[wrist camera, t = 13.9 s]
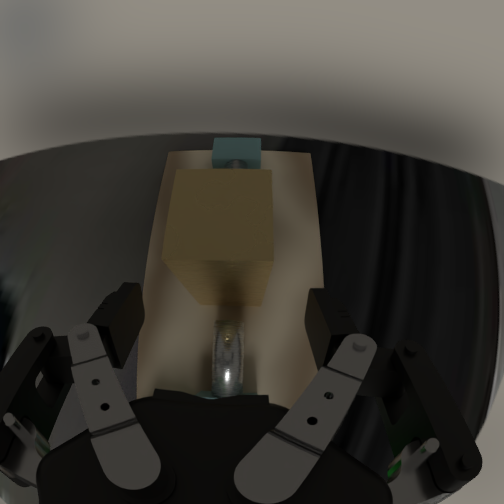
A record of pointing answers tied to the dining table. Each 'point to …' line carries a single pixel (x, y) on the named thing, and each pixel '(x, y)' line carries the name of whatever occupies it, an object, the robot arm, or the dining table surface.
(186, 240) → the tan square-topped block
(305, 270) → the board
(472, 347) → the dining table surface
